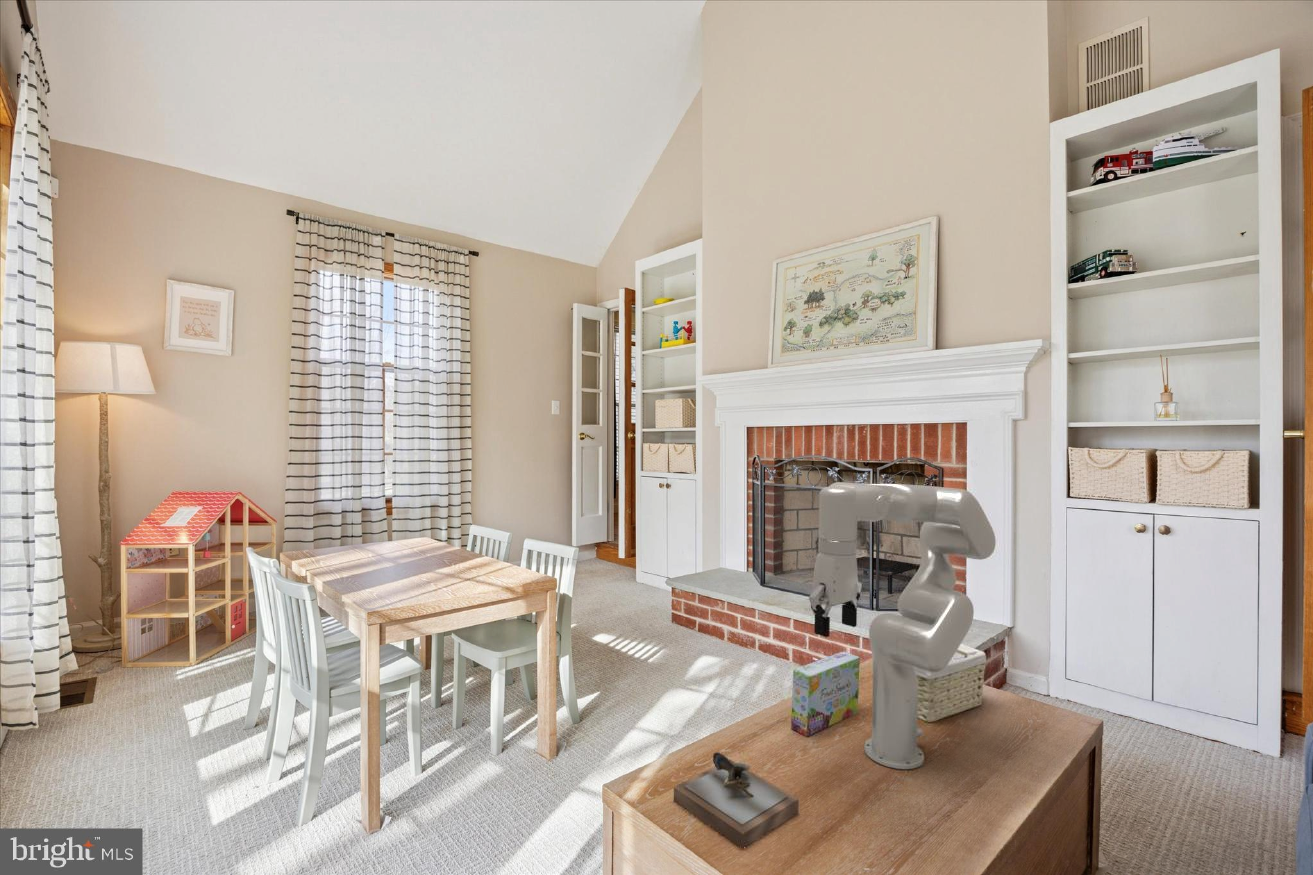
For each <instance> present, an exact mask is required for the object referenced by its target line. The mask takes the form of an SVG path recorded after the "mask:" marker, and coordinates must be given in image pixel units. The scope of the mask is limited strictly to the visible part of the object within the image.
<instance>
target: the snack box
mask: <svg viewBox="0 0 1313 875" xmlns="http://www.w3.org/2000/svg"><path fill="white" fill-rule="evenodd" d="M860 661H861V657H860V656H857V655H854V654H852V653H849V652H847V651H841V652H837V653H835V654H832V655H829V656H827V657H824V658H821V659H819V660H816V661H813V662H811V663H808V664H805V665H802V666H800V667H797V668H794V669H793V670H792V673H793V674H792V694H791V695H792V697H791V698H792V699H791V720H790V721H791V722H790V723H791V725H790V729H791V730H794V731H796V732H797V733H798V734H801V735H803V736H804V737H809V736H812V735H813V734H816V733H818V732H821V731H822V730H824V729H826V728H828V727H831V726H833V725H835V724H837V723H839V722H841V721H843V719H844V720H845V719H848V718H849V717H850V718H851V717H852V716H854V715H856V714H858V712H859V689H860V688H859V685H860V684H859V683H860V663H861V662H860Z"/></svg>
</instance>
